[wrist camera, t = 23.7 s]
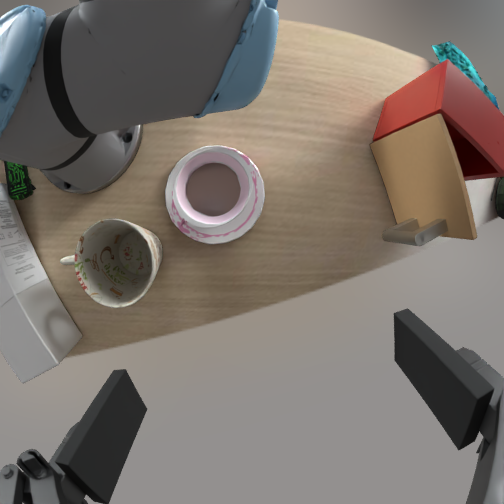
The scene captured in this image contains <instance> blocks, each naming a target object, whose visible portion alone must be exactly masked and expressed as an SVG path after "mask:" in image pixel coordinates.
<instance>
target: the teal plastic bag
mask: <svg viewBox="0 0 504 504" xmlns="http://www.w3.org/2000/svg"><path fill="white" fill-rule="evenodd" d="M432 47H433V49H434V51H435V53H436V56H437V57H438V59H439V60H440V63H441V62H443V61H445V60H446V59H448V60H449V61H450V62H452V63H453V64H454V65H455V66H456V67H457V68H458V69H459V70H460V71H462V72H463V73H464V74H465V75H466V76H467V77H468V78H469V79H470V80H471V81H472V82H473V83H474V84H475V85H476V86H477V87H478V88H479V89H480V90H481V91H482V92H483V93H484V94H485V95H486V96H487V97H488V98H489V100H490V101H491V102H492V103H493V104H494V105H495V106H496V107H497V108H498V110H499V107H498V104H497V101H496V97H495V96H494V95H493V94H492V93H490V92H489V91H488V89H487V86H486V85H484V83H483V81H482V80H481V78H480V77H479V75H478V72H476V70H475V68H474V67H473V66H472V64H471V62H470V60H469V59H468V58H467V57H466V56H465V55H464V54H463V53H462V52H461V51H460V50H459V49H458V48H457V47H456V46H455V45H454V44H452V43H451V42H450V41H449V42H446V43H443V44H440V45H435V46H432ZM440 63H439V64H440Z"/></svg>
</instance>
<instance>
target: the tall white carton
mask: <svg viewBox="0 0 504 504" xmlns="http://www.w3.org/2000/svg"><path fill="white" fill-rule="evenodd" d="M7 187H8V186H7V184H4V183H0V352H1V353H2V355H3V356H4V358H5V359H6V361H7V362H8V364H9V365H10V367H11V368H12V370H13V371H14V373H15V374H16V376H17V377H18V378H19V380H20V381H21V382H22V383H25V382H27V381H29V380H31V379H33V378H35V377H37V376H39V375H41V374H42V373H44V372H46V371H48V370H50V369H52V368H54V367H56V366H57V365H59V364H60V362H61V361H62V360H63V359H64V358H65V357H66V355H67V354H68V353H69V352H70V351H71V350H72V348H73V347H74V346H75V345H76V344H77V343H78V341H79V340H80V339H81V338H82V334H81V333H80V331H79V330H78V328H77V326H76V325H75V323H74V322H73V320H72V319H71V317H70V315H69V314H68V312H67V311H66V309H65V307H64V306H63V304H62V302H61V300H60V299H59V297H58V295H57V293H56V292H55V290H54V288H53V286H52V284H51V283H50V281H49V279H48V276H47V274H46V273H45V271H44V269H43V267H42V265H41V263H40V261H39V259H38V257H37V254H36V252H35V250H34V248H33V246H32V244H31V242H30V239H29V237H28V235H27V232H26V230H25V228H24V225H23V223H22V220H21V218H20V215H19V213H18V210H17V208H16V205H15V202H14V200H12V199H11V198H10V197H9V194H8V188H7Z"/></svg>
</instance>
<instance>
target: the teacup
mask: <svg viewBox="0 0 504 504" xmlns="http://www.w3.org/2000/svg"><path fill="white" fill-rule="evenodd" d="M264 200H265V193H264V182H263V180H262V177H261V175H260V173H259V170H258V168H257V167H256V166H255V165H254V163H253V162H252V161H251V160H250V159H249V158H248V157H247V156H246V155H244V154H242V153H241V152H239V151H237V150H236V149H233V148H229V147H225V146H221V145H216V146H204V147H201V148H199V149H196V150H194V151H191V152H189V153H188V154H187V155H186V156H184V157H183V158H182V159H181V160H180V161H178V162H177V164H176V165H175V167H174V168H173V170H172V171H171V173H170V175H169V177H168V181H167V185H166V188H165V201H166V208H167V210H168V213H169V215H170V218H171V220H172V222H173V223H174V224H175V225H176V226H177V228H178V229H179V230H180V231H181V232H182V233H183V234H185V235H186V236H188V237H190V238H191V239H193V240H195V241H198V242H202V243H207V244H221V243H228V242H230V241H232V240H235V239H237V238H240V237H241V236H243V235H244V234H245V233H246V232H247V231H248V230H250V229H251V228H252V227H253V226H254V224H255V222H256V221H257V219H258V218H259V216H260V214H261V212H262V208H263V204H264Z"/></svg>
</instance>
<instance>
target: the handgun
mask: <svg viewBox="0 0 504 504" xmlns="http://www.w3.org/2000/svg"><path fill="white" fill-rule="evenodd" d="M4 165H5V172H6V180H7V186H8V187H7V188H8V194H9V197H10V198H11V199H12V200H22V199H24V198H27V197H29V196H31V195H32V194H33V190H35V189H36V188H35V187H34V186H33V185H32V184H31V180H30V178H29V176H28V170H27V166H25V165H20V164H16V163H12V162H8V161H4Z"/></svg>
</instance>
